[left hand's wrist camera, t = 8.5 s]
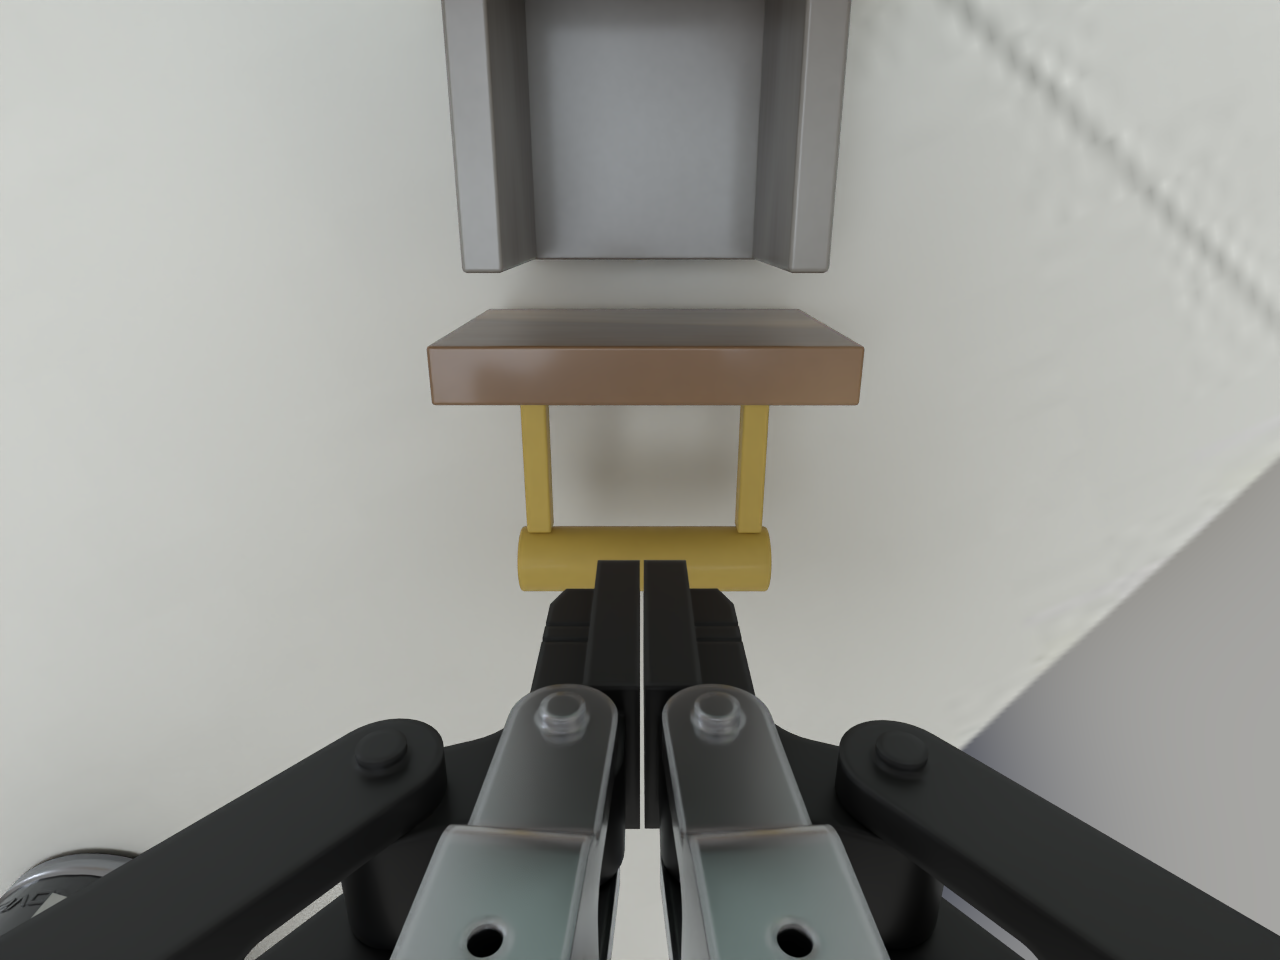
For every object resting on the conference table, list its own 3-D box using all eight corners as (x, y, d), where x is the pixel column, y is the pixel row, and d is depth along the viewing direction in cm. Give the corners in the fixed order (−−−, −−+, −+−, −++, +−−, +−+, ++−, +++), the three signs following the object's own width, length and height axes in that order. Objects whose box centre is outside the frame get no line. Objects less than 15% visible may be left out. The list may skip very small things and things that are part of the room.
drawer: (784, 528, 23) (835, 639, 17) (502, 528, 23) (454, 639, 17) (851, -394, 15) (981, -774, 10) (439, -394, 15) (315, -774, 10)
